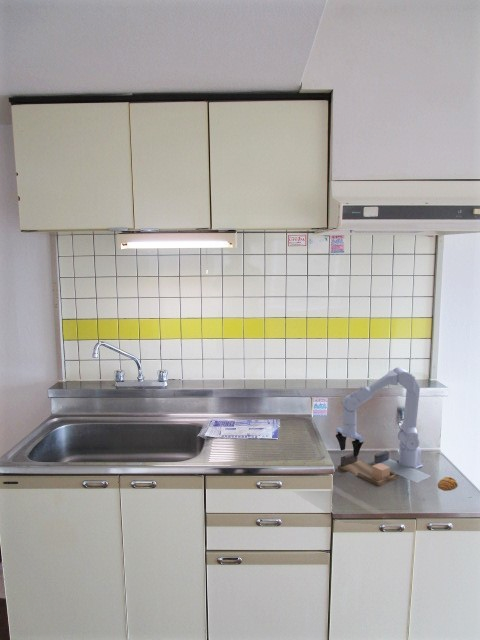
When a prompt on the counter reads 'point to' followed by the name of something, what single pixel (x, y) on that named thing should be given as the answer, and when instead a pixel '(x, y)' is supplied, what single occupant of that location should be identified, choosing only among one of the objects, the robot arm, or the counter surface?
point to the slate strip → (400, 468)
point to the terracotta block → (380, 471)
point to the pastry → (447, 484)
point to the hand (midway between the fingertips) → (349, 452)
